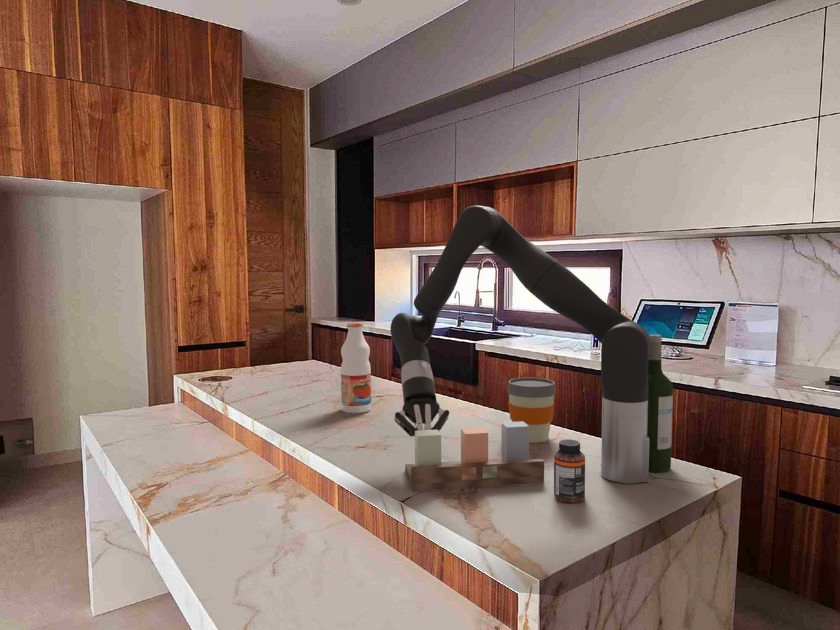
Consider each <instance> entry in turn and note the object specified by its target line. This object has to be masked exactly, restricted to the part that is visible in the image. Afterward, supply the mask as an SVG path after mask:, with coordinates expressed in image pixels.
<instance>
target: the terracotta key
mask: <svg viewBox="0 0 840 630" xmlns="http://www.w3.org/2000/svg"><path fill="white" fill-rule="evenodd" d="M488 459H489V431H487V430H486V429H485V428H484V427H470V428H460V461H461V464H464V463H481V462H488Z"/></svg>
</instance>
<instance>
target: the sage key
mask: <svg viewBox="0 0 840 630" xmlns="http://www.w3.org/2000/svg"><path fill="white" fill-rule="evenodd" d="M441 462H442V434H441V432H440V431H438V430H424V429H423V430H419V431H415V436H414V464H415V466H430V465H441Z"/></svg>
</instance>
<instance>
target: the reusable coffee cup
mask: <svg viewBox="0 0 840 630" xmlns="http://www.w3.org/2000/svg"><path fill="white" fill-rule="evenodd" d="M507 393H508V398H509V401H508V411H509V419H510V420H511V422H521V421H523V422H524V423H526V424H527V425H528V426H529V444H536V443H537V444H539V443H544V442H547V441H548V440H549V436H550V428H551V422H553V420H554V418H553V417H554V411H555V402H554V399H555V395H556V394H557V392H556V383H555V381H554V380H551V379H548V378H540V377H518V378H517V377H516V378H511V379H510V380H508V383H507Z"/></svg>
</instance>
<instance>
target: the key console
mask: <svg viewBox="0 0 840 630" xmlns="http://www.w3.org/2000/svg"><path fill="white" fill-rule="evenodd" d="M404 470H405V473H406V477H407V481H408V483H409V486H410V489H411V492H423V491H424V492H425V491H439V490H440V491H441V490H457V489H471V488H483V487H484V488H485V487H486V488H487V487H499V486H501V487H502V486H515V485H518V486H519V485H529V484H530V485H532V484H544V483H545V460H544V459H543V458H536V459H533V458H532V459H529V460H515V461H501V458H491V459H489V458H488V462H481V463H464V464H461V460H455V461H441V465H430V466H415V463H406V464H404Z"/></svg>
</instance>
